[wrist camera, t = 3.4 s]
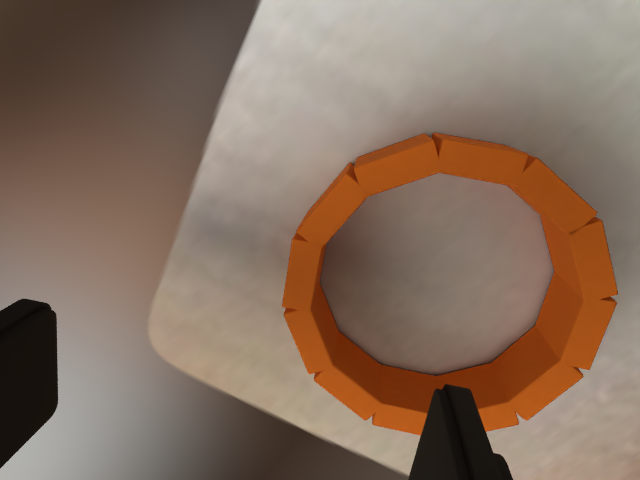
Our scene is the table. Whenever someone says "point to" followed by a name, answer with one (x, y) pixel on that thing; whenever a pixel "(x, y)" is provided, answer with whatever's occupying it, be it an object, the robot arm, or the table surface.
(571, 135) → the table surface
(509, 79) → the table surface
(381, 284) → the table surface
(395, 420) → the ring
